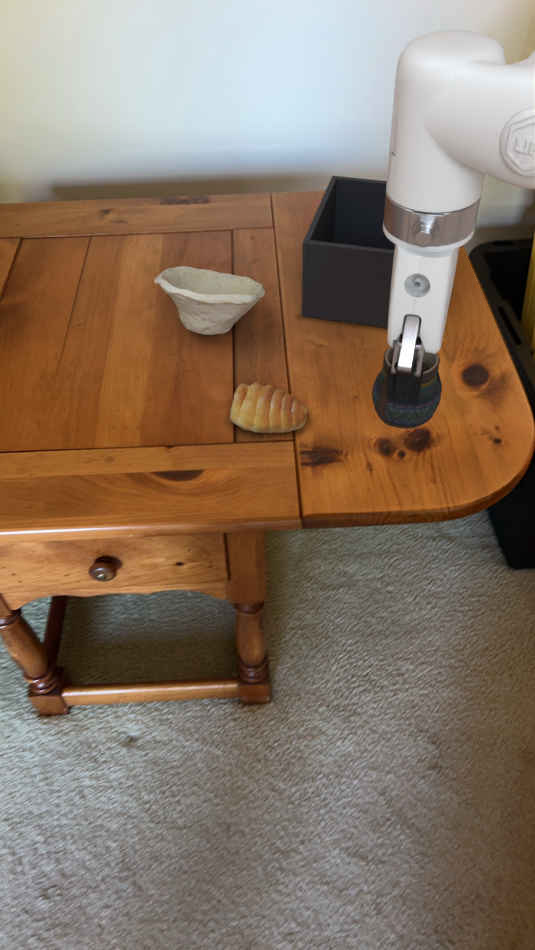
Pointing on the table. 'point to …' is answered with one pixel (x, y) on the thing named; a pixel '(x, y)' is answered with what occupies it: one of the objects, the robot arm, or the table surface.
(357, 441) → the table surface
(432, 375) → the mate gourd
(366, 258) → the trash bin
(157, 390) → the table surface
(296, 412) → the pastry
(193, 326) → the bowl
